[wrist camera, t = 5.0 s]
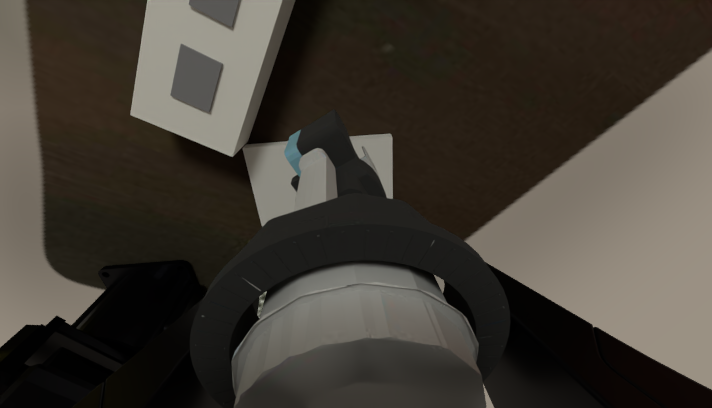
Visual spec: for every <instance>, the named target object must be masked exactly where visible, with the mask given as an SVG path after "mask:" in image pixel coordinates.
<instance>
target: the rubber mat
mask: <svg viewBox="0 0 712 408" xmlns="http://www.w3.org/2000/svg"><path fill="white" fill-rule="evenodd" d="M350 140H351V142H352V145H353V147H354V150H355V152H356V153H357V155H358V157H359V159H361V158H362V157H364V156H365V154H364V152H363V149H362V146H364V148H365V149H366V151H367V153H368V155H369V156H370V158H371V160H372V162H373V163H374V165H375V167H376V170H377V172H378V175H379V177H380V178H379V179H380V181H381V183H382V186H383V188H384V191H385V193H386V197H387V198H390V199H393V180H392V136H391V134H378V135H365V136H352V137H350ZM287 143H288V141H285V142H272V143H258V144H246V145H245V146H244V147H243V148H242V149H243V153H244V157H245V161H246V165H247V169H248V173H249V177H250V181H251V185H252V189H253V193H254V197H255V201H256V205H257V209H258V213H259V217H260V221H261V225H262V227H263V226H264V225H265V224H266V222H268V221H269V220H271V219H273V218H275V217H278V216H281V215H285V214H288V213H291V212H293V210H294V205H295V199H296V194H297V192H296V191H295V189H294V188H293V187H292V185H291V181H292V178H293V177H294V176H296V175H298V174H297V173H296V172H295V170H294V169H293V167H292V166H291V165H290V163H289V162H288V160H287V159H286V157H285V154H284V150H285V148H286V146H287Z"/></svg>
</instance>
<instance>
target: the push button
mask: <svg viewBox="0 0 712 408" xmlns="http://www.w3.org/2000/svg"><path fill="white" fill-rule="evenodd" d="M362 149H363V152H364V154H365V156H364V157H362V158H361V159H359V157H358V155H357V153H356V152H355V150H354V147H353V145H352V142H351V140H350V137H349V135H348V132H347V130H346V128H345V126H344V124H343V122H342V120H341V119H340V117H339V115H338V114H337V112H336V111H335V110H332V111H331V112H329V113H327V114H326V115H324V116H323V117H321V118H319V119H318V120H316V121H314V122H313V123H311V124H309V125H308V126H306V127H305V128H303V129H301V130H300V131H298V132H296V133H295V134H293V135H291V136H290V137H289V141H288V143H287V146H286V148H285V150H284V154H285V157H286V159H287V160H288V162H289V163H290V165H291V166H292V167H293V169H294V170H295V172H296V173H297V174H298V175H296V176H294V177H293V178H292V181H291V185H292V187H293V188H294V189H295V191H296V192H297V194H296V199H295V205H294V210H293V212H291V213H288V214H285V215H281V216H278V217H275V218H273V219H271V220H269V221H268V222H266V224H265V225H264V226H263V227H262V228H261V229H260V230H259V231H258V233H257V234H256V235H255V236H254V237H253V238H252V239H251V240H250V242H249V243H248V244H247V245H246V246H245V247H244V248H243V249H242V251H241V252H240V253H239V254H237V255H236V256H235V257H234V258H233V259H232V260H231V261H229V262H228V263H227V265H226V266H225V267H224V268H223V269H222V270H221V271H220V272H219V274H218V275H217V276H216V278H215V279H214V281H213V282H212V284H211V285H210V287H209V289H208V291H207V293H206V295H205V297H204V299H203V301H202V303H201V305H200V307H199V309H198V311H197V313H196V315H195V318H194V321H193V325H192V328H191V334H190V356H191V360H192V365H193V368H194V370H195V373H196V375H197V377H198V379H199V381H200V382H201V384H202V386H203V387H204V389H205V390H206V391H207V392H208V394H209V395H210V396H211V397H212V398H213V399H214V400H215V401H216V402H217V403H218V404H219V405H220V406H222V407H223V408H486V401H485V395H484V388H483V382H484V381H485V379H486V378H487V377H488V376H489V375H490V373H491V372H492V371H493V369H494V368H495V367H496V365H497V363H498V361H499V360H500V358H501V356H502V354H503V352H504V349H505V347H506V344H507V340H508V337H509V331H510V310H509V304H508V300H507V297H506V295H505V292H504V289H503V288H502V286H501V284H500V282H499V281H498V279H497V277H496V276H495V275H494V273H493V272H492V271H491V269H490V268H489V267H488V265H487V264H486V263H485V262H484V260H483V259H482V258H481V257H480V255H479V254H478V253H477V252H476V251H475V250H474V249H473V248H472V247H470V246H469V245H468V244H467V243H466V242H464V241H463V240H461V239H460V238H459V237H457V236H456V235H454V234H452V233H450V232H448V231H447V230H445V229H443V228H441V227H438V226H436V225H433V224H431V223H430V222H428V221H427V220H426V219H425V218H424V217H423V216H421V215H420V214H419V213H418V212H417V211H416V210H414V209H413V208H412V207H411V206H410V205H409V204H407V203H406V202H404V201H401V200H396V199H390V198H387V197H386V193H385V191H384V188H383V186H382V183H381V181H380V179H379V178H380V177H379V175H378V172H377V170H376V167H375V165H374V163H373V162H372V160H371V158H370V156H369V155H368V153H367V151H366V149H365V148H364V146H362ZM433 274H434V275H436V276H438V277H440V278H441V279H443V280H444V281H445V287H444V292H443V293H442V292H441V289H440V287H439V285H438V283H437V281H436V279H435V277H434V275H433ZM266 291H267V293H266V297H265V301H264V304H263V308H262V312H261V316H260V319H259V318H258V316H257V314H256V312H255V309H254V307H253V302H254V301H255V300H256V299H257V298H258V297H259V296H260V295H262V294H263V293H264V292H266Z"/></svg>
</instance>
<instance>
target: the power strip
mask: <svg viewBox="0 0 712 408" xmlns="http://www.w3.org/2000/svg"><path fill="white" fill-rule="evenodd" d="M294 3H295V0H148V1H147V7H146V14H145V20H144V27H143V34H142V40H141V47H140V54H139V60H138V67H137V74H136V80H135V87H134V94H133V100H132V107H131V114H130V115H132V116H134V117H137V118H139V119H142V120H144V121H146V122H149V123H151V124H154V125H156V126H159V127H161V128H163V129H166V130H168V131H171V132H173V133H175V134H178V135H180V136H183V137H185V138H188V139H190V140H192V141H195V142H197V143H200V144H202V145H204V146H207V147H209V148H212V149H214V150H217V151H219V152H221V153H224V154H226V155H229V156H231V157H233V156H234V155H235V154H236V153H237V152H238V151H239V150H240V149H241V148H242V147H243V146H244V145H245V144H246V143H247V142H248V140H249V137H250V134H251V131H252V128H253V125H254V122H255V119H256V116H257V113H258V110H259V107H260V104H261V101H262V98H263V95H264V92H265V89H266V86H267V83H268V80H269V77H270V74H271V71H272V69H273V66H274V63H275V60H276V57H277V54H278V51H279V48H280V45H281V42H282V39H283V36H284V33H285V30H286V27H287V24H288V21H289V18H290V15H291V12H292V9H293V6H294Z"/></svg>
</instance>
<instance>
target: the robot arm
mask: <svg viewBox="0 0 712 408" xmlns="http://www.w3.org/2000/svg"><path fill="white" fill-rule="evenodd" d="M485 263H486V262H485ZM486 264H487V265H488V267H489V268H490V269H491V271H492V272H493V273H494V275H495V276H496V277H497V279H498V281H499V282H500V284H501V286H502V288H503V289H504V292H505V295H506V297H507V300H508V304H509V310H510V331H509V337H508V340H507V344H506V347H505V349H504V352H503V354H502V356H501V358H500V360H499V361H498V363H497V365H496V367H495V368H494V369H493V371H492V372H491V373H490V375H489V376H488V377H487V378H486V379H485V381H484V382H483V384H484V386H485V388H486V390H487V392H488V395H489V397H490V399H491V401H492V404H493V406H494V408H712V390H711V389H709V388H707V387H705V386H703V385H701V384H699V383H697V382H695V381H694V380H692V379H690V378H688V377H686V376H684V375H682V374H680V373H678V372H676V371H675V370H673V369H671V368H669V367H667V366H665V365H663V364H661V363H659V362H657V361H655V360H654V359H652V358H650V357H648V356H646V355H644V354H643V353H641V352H639V351H637V350H635V349H634V348H632V347H630V346H629V345H627V344H625V343H623V342H622V341H620V340H618V339H616V338H614V337H613V336H611V335H609V334H608V333H606V332H604V331H602V330H601V329H599V328H597V327H594V328H593V326H592V324H590V323H589V322H587V321H585V320H583V319H582V318H580V317H578V316H577V315H575V314H573V313H571V312H570V311H568V310H566V309H565V308H563V307H561V306H559V305H558V304H556V303H554V302H552V301H551V300H549V299H547V298H546V297H544V296H542V295H541V294H539V293H537V292H535V291H534V290H532V289H530V288H529V287H527V286H525V285H523V284H522V283H520V282H518V281H517V280H515V279H513V278H511V277H510V276H508V275H506V274H505V273H503V272H501V271H499V270H498V269H496V268H494V267H493V266H491V265H489V264H488V263H486ZM180 266H181V267H180ZM182 267H183V268H182ZM98 274H99V276H100V278H101V279H102V281H103V283H104V284H105V286H106V288H107V289H106V290H105V291H104V292H103V293H102V295H101V296H100V297H99V298H98V299H97V300H96V301H95V302H94V303H93V304H92V305H91V306H90V307H89V308H88V309H87V310H86V311H85V312H84V313H83V314H82V315H81V316H80V317H79V318H78V319H77V320H76V322H75V323H73V324H72V325H69V324H68V323H66V322H65V321H66V320H64V319H62V318H60V317H58V316H56V317H55V318H54V319H53V320H51V321H50V322H49V323H48V324H47V325H46V326H44V325H42V324H41V325H25V326H24V327H23V328H22V329H21V330H20V331H19V332H18V333H17V334H15V335H14V336H13V337H12V338H11V339H10V340H8V341H7V342H6V343H5V344H4V345H3V346H2V347H1V348H0V408H223V407H222V406H220V405H219V404H218V403H217V402H216V401H215V400H214V399H213V398H212V397H211V396H210V395H209V394H208V392H207V391H206V390H205V389H204V387H203V386H202V384H201V382H200V381H199V379H198V377H197V375H196V373H195V370H194V368H193V365H192V360H191V356H190V334H191V328H192V325H193V321H194V318H195V315H196V313H197V311H198V309H199V307H200V305H201V303H202V301H203V299H204V296H203V294H202V291H201V289H200V286H199V285H198V283H197V281H196V279H195V276H194V274H193V271H192V269H191V267H190V264H189V263H188V262H187V261H184V260H176V261H164V262H151V263H138V264H126V265H113V266H105V267H103V268H102V269H101V270H100V271H99V273H98ZM444 283H445V281H444ZM258 305H259V297H258V298H257V299H256V300H255V301H254V302H253V307H254V309H255V312H256V314H257V312H258Z"/></svg>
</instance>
